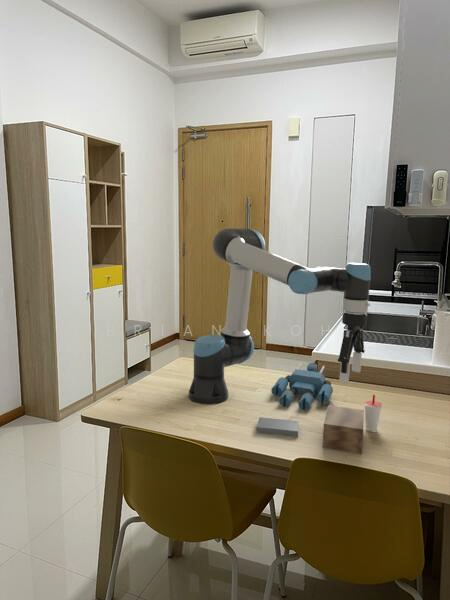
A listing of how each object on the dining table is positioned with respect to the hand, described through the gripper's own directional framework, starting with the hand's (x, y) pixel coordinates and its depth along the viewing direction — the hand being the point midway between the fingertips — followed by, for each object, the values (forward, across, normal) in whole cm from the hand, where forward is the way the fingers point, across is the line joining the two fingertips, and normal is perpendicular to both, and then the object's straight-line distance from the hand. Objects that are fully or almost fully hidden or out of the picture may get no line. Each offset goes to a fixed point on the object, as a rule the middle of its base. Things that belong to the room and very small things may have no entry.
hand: (350, 376), depth 146 cm
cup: (+18, +3, -7) cm, 19 cm away
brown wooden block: (+17, -9, -1) cm, 20 cm away
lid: (+18, -14, +18) cm, 29 cm away
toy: (+18, +20, +23) cm, 36 cm away
